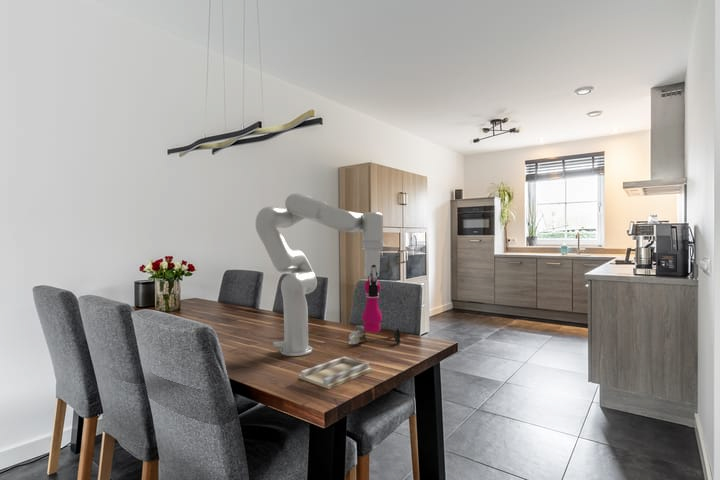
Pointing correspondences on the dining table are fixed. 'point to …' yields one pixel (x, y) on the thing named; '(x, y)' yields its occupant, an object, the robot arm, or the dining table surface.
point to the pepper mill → (372, 311)
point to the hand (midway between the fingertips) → (372, 294)
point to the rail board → (335, 372)
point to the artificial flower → (360, 334)
